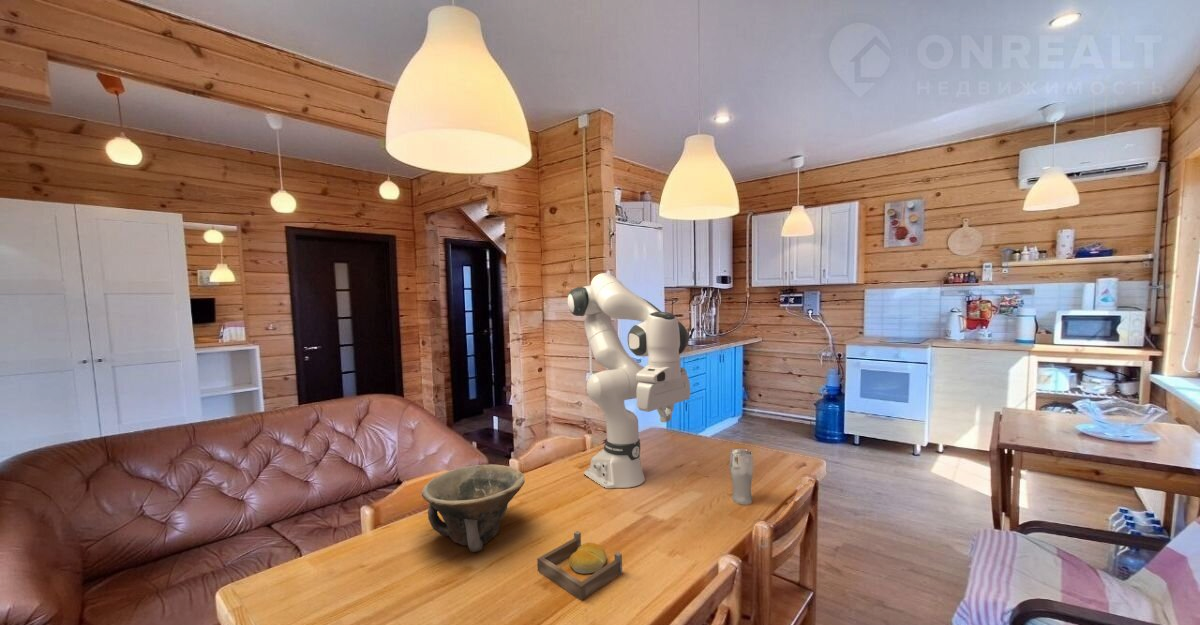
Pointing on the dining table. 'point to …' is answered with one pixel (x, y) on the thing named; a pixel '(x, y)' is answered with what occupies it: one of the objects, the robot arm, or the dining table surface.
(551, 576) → the bay
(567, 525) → the dining table surface
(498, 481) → the bowl
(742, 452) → the beer glass
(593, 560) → the bread roll
